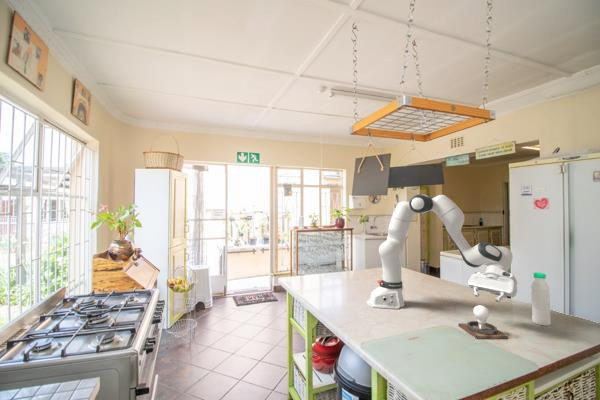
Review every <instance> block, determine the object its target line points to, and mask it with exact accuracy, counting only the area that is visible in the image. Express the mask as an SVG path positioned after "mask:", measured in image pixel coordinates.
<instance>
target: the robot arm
mask: <svg viewBox="0 0 600 400" xmlns="http://www.w3.org/2000/svg"><path fill="white" fill-rule="evenodd" d="M395 206H396V207H395V208H394V210H393V213H392V216H391V219H390V222H389V224H388V225H389V226H388V228H387V229H388V230H387V237H386V240H385V241H383V242H382V243H381V244H380V245H379V248H378V254H379V256H380V261H381V267H382V269H381V270H382V279H377V283H378V284H379V286H378V287H376V288H375V289H374V290H372V291H371V292H370V296H369V298H367V299H366V304H367V305H368V306H369V307H371V308H373V309H374V308H376V309H389V310H390V309H392V310H394V309H395V310H399V309H401V308H403V307H405V306H406V304H405V300H404V295H403V294H404V293H403V288H404V287H403V286H404V285H403V281H402V267H401V263H400V255H401V254H402V253H403V250H404V247H405V243H406V239H407V233H408V231H409V228H410V224H411V222H412V218H413V216H414V215H415V214H427V213H430V212H433V213H435V215H437V217H438V218H439V219H440V220H441V222H442V224H443V225H444V227H445V231H446V233H447V234H448V236H449V238H450V239H451V241H452V242H453V244H454V245H455V247H456V248H457V250H458V251H459V253H460V255H461V258H462V260H463V261H464V263H465V264H466V265H468V266H469V267H471V268H474V269H475V268H480V267H481V266H482V265H484V264H485V265H486V269H485V271H484V272H478V271H476V272H473V273H472V274H471V275H470V277H469V279H468V281H467V285H468V287H469V288H470V289H473V290H474V293H473V296H474V297H476V298H479V296H480V293H479V291H483V292H488V293H492V294H496V295H499V296H495V298H494V299H495V302H497V303H501V301H502V300H503V299H505V298H506V296H507V297H511V298H515V297H516V296H517V292H518V287H517V285H518V281H517V278H516V277H515V275H514V273H511V272H509V269H510V268H511V266H512V262H513V258H514V257H513V252H512V250H510V249H509V248H508V247H506V246H501V245H499V246H497V245H493V244H492V243H490V242H487V241H481V242H479V243H477V244H476V245H474V246H473V247H472V246H471V245H470V244H469V243H468V241H467V240H466V238H465V237H464V235H463V233H462V227H463V226H464V223H465V214H464V212H463V211H462V209H460V207H458V205H457V204H456V203H455V202H454V201H453V200H452V199H450V197H447V195H445V194H438V195H436V196H434V197H433V198H432V197H431V196H428V195H426V194H423V193H421V194H415V195H413V196H412V197H411V198H410V199H409V201H407V200H406V201H404V200H403V201H400V202H398V203H397V205H395Z"/></svg>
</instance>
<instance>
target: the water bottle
mask: <svg viewBox="0 0 600 400" xmlns="http://www.w3.org/2000/svg"><path fill="white" fill-rule="evenodd" d="M532 275H533V278H534V280H533V282H532V284H531V285H530V289H531V293H530V294H531V306H532V309H531V313H532V315H531V318H532V319H531V320H532V322H533V323H534V324H536V325H539V326H544V327H546V326H547V327H549V326H551V324H552V319H551V297H550V287H549V285H548V284H547V282H546V278H547V277H546V273H544V272H537V271H535V272H533V274H532Z"/></svg>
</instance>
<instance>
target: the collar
mask: <svg viewBox="0 0 600 400" xmlns="http://www.w3.org/2000/svg"><path fill="white" fill-rule="evenodd" d="M471 325H478V321H477V320H471V321H467V328H468V329H469V330H471V331H473V332H476V333H479V334H484V335H495V334H497V330H498V328H497V326H495V325H494V324H491V323H488V322H486V323H485V326H486V327H489V328H491V329H493V330H492V331H486V330H480V329H477V328H474V327H472V326H471Z"/></svg>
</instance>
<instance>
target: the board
mask: <svg viewBox="0 0 600 400" xmlns="http://www.w3.org/2000/svg"><path fill="white" fill-rule="evenodd" d="M471 326H472V327H474V328H477V329H479V328H478V327H479V325H471ZM458 327H459V328H461V329H462V330H463V331H465V332H466V333H468V335H470V336H471V335H472V336H471V337H473V336H474V337H475V338H474V337H473V338H474V339H476V338H480V339H479V340H508V339H509V336H508V335H507V334H505V333H504V332H502V331H501V330H499V329H497V334H495V335H484V334H479V333H476V332H473V331H471V330H469V329H468V328H467V323H462V322H461V323H460V322H459V323H458ZM480 330H481V329H480ZM484 330H486V331H492V330H493V329H491V328H489V327H486V326H485V329H484Z"/></svg>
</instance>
